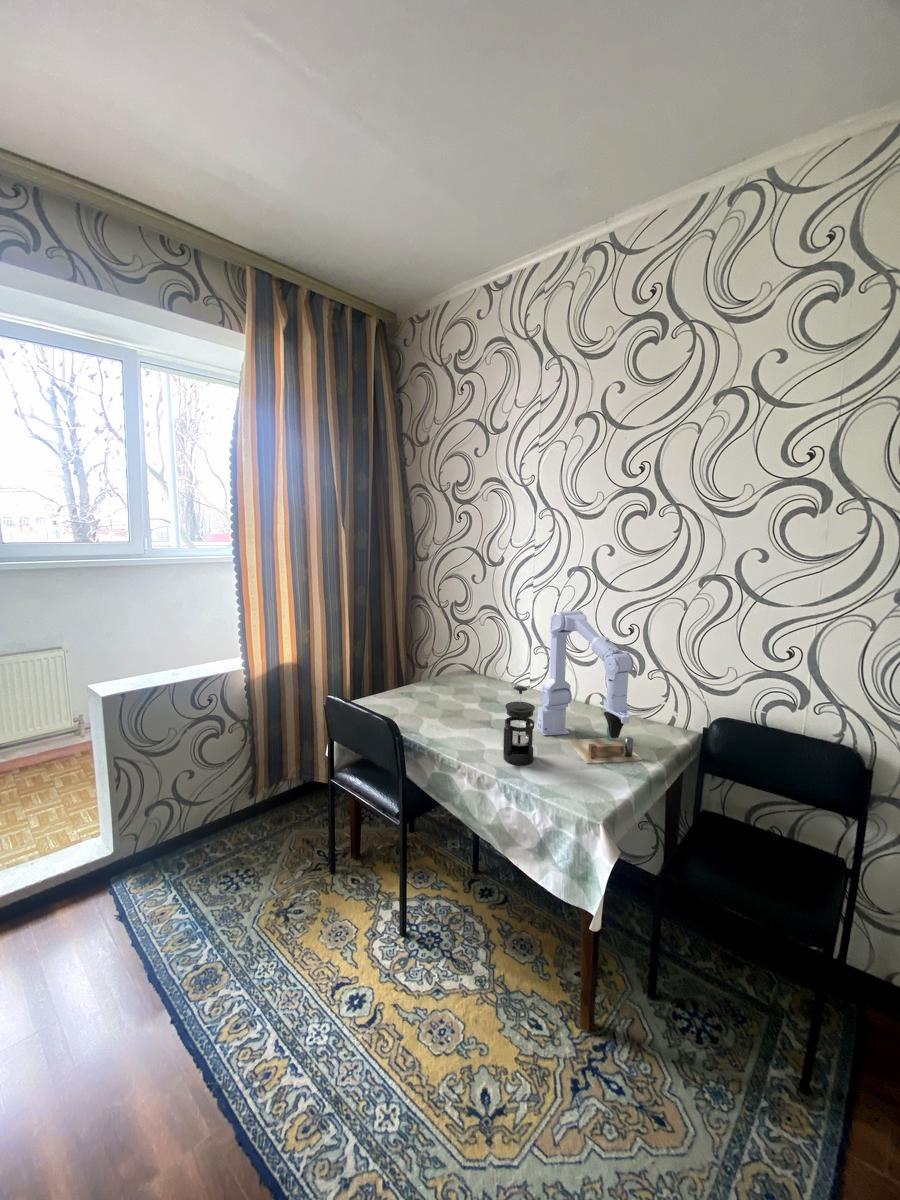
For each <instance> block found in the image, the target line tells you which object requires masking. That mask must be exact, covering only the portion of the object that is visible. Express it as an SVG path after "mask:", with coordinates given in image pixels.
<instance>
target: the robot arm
mask: <svg viewBox="0 0 900 1200" xmlns="http://www.w3.org/2000/svg"><path fill="white" fill-rule="evenodd" d="M549 629H550V631H549V632H550V642H549V644H550V645H549V648H550V649H549V676H548V677H549V678H548V679H547V680H546V681H545V682H544V683H543V684H542V687H541V691H540V694H539V695H540V696H539V697H540V703H541V704H542V706H538V708H537V714H536V715H537V719H536V720H537V721H536V728H537V729H538V731H539V732H540V733H541V735H542V736H559V735H570V732H569V731H568V729H566V720H567V719H566V717H567V708H568V707H569V704H570V703H571V702H572V699H573V695H572V690H571V683H569V682H568V681H566V667H567V666H566V664H567V661H566V660H567V639H568V638H567V637H568V636H569V635H570V634H571V633H572V632H577V633H578V634H580V635H581V637H583V638H584V639H585V640H586V641H587V642H588V643H590V644H591V646H590V647H591V651H593V653H595V655H596V656H597V657H598V658H599V659H600V660H601V661H602V662H603V668H604V669H605V677H606V678H607V679H606V680H607V683H606V698H603V706H604V710H605V711H604V713H603V715H604V717H605V720H606V722H607V727H608V728H609V734H610V737H611V738H619V737H620V735H621V731H622V728H623V727H624V724H630V716H629V712H630V710H631V708H630V707H629V706H627V702H628V687H629V672H632V670H633V669H634V664H635V663H634V662H635V661H634V658H633V657H632V655H631V653H630V652H628V651H623V650H620V649H619V648H618V647H617V646H616V645H615V644H613V642H612V641H610V638H609V637H606V636H605V635H603V636H601V635H599V633H598V632H597V631H596V630H595V628H593V627H592V625H591V624H590V623H589V622H588V619H587V615H586V614H584V612H583V611H582V610H580V609H576V610H565V611H555V612H554V613H553V614H552V615H551V616H550V627H549Z"/></svg>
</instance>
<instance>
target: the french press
mask: <svg viewBox="0 0 900 1200" xmlns="http://www.w3.org/2000/svg"><path fill="white" fill-rule="evenodd" d="M513 690H515V691H517V692H518V694H519V701H510V702H507V703H506V704H505V709H506V714H507V715H508V716H509V717H507V718H506V719H504V727H503V752H502V753H503V760H504V761H505V763H507V764H509V765H513V766H519V767H520V766H528V765H530V764H532V763H534V760H535V756H534V747H533V741H534V739H533V738H534V737H533V733H534V729H535V721H534V720H533V719H531V717H533V716H534V711H535V710H536V707H535V704H533V703H530V702H526V701H522V694H523V692H525V691H528V687H527V686H525V685H524V686H523V685H516V686H514V687H513ZM515 721H518V726H512V723H511V722H515ZM521 721H523V722H525V727H521ZM516 732H517V733H516ZM515 753H519V754H515Z"/></svg>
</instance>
